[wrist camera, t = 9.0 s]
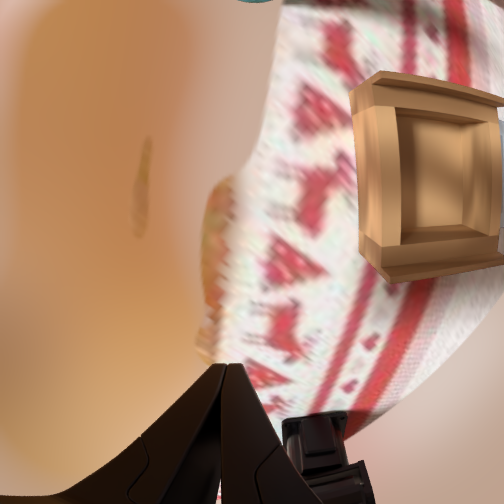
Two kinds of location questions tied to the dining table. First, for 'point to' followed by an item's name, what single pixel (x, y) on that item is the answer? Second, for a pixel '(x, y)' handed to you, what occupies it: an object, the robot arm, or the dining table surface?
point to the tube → (255, 1)
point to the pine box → (427, 176)
